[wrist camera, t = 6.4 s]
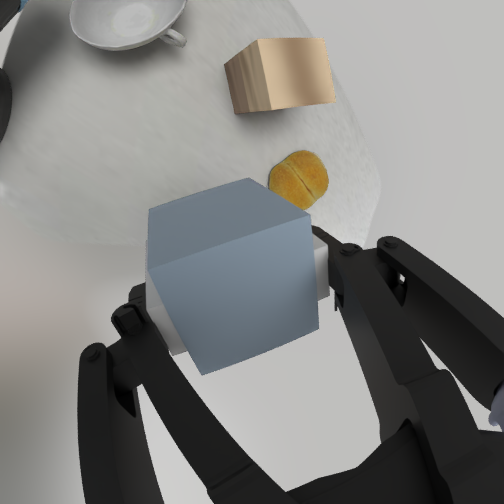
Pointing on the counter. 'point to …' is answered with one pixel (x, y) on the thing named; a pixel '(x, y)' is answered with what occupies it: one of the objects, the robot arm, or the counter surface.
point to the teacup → (126, 22)
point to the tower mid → (286, 73)
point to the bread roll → (300, 179)
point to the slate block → (234, 271)
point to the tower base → (236, 85)
